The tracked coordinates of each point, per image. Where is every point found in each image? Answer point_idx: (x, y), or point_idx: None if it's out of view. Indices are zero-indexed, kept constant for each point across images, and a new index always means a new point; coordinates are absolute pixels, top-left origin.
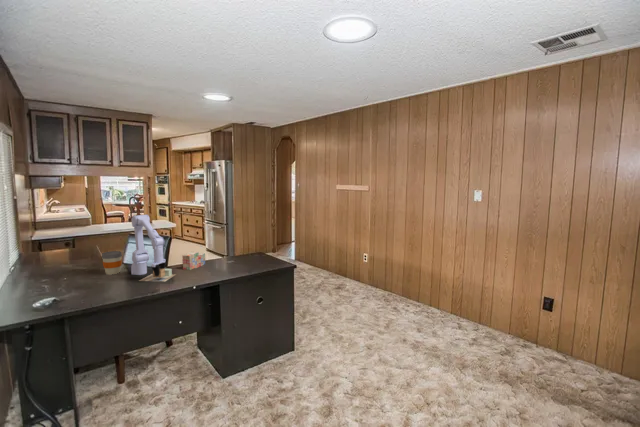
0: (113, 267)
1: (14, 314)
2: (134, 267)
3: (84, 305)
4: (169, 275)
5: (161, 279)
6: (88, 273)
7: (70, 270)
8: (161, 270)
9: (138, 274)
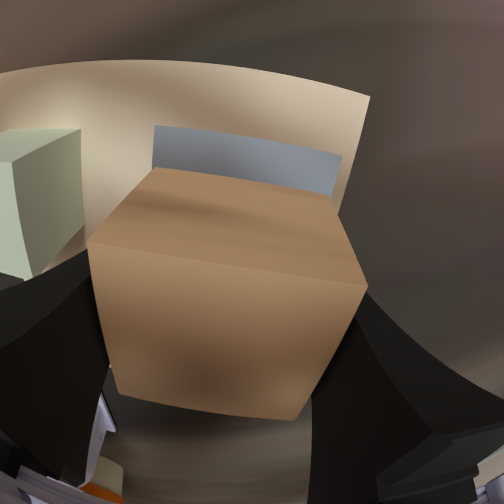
0: (109, 493)
1: (478, 463)
2: (87, 468)
3: None
4: (58, 130)
5: None
6: (128, 488)
7: None
8: (322, 281)
9: (99, 413)
